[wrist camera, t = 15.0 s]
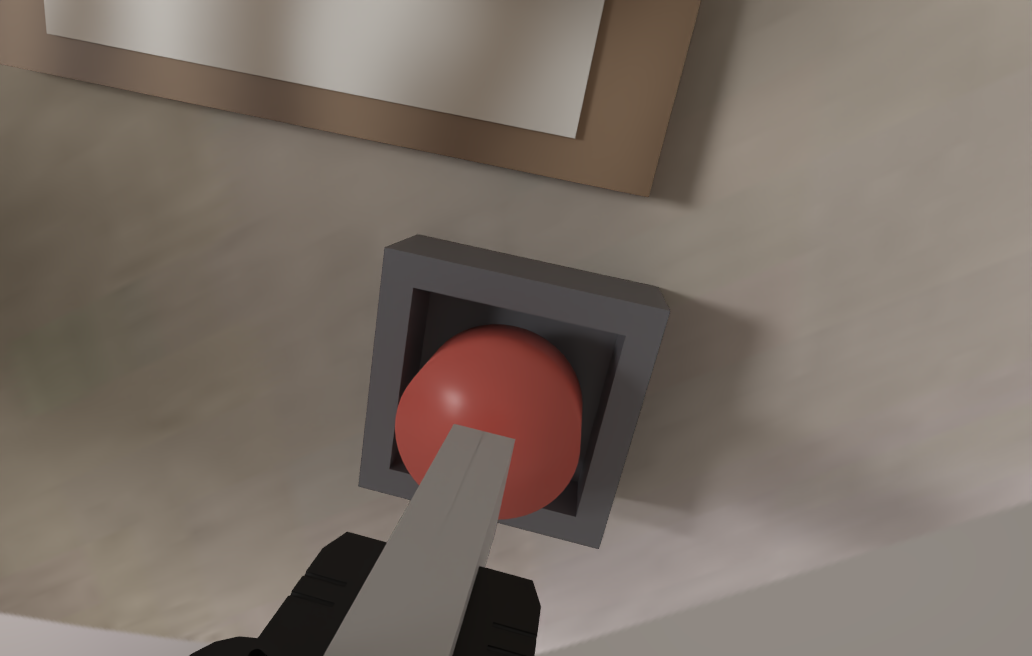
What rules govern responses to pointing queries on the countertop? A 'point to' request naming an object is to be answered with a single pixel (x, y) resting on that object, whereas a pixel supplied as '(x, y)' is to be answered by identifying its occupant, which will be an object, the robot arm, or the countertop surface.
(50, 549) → the countertop surface
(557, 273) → the button housing
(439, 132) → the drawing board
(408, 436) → the button
